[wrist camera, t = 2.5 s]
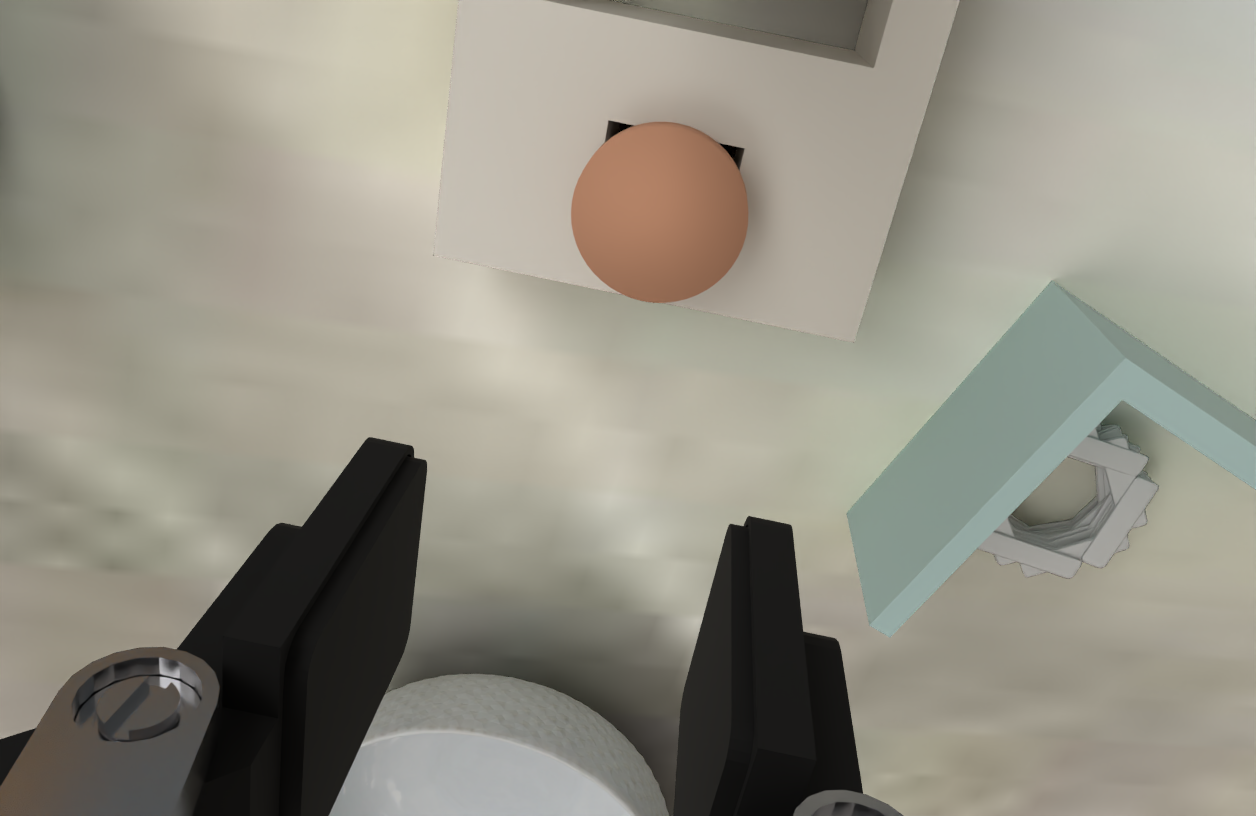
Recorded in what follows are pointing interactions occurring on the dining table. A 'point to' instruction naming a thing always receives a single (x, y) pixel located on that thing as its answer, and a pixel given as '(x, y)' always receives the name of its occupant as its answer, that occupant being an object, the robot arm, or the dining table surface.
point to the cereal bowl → (494, 755)
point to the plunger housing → (705, 100)
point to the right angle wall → (1032, 457)
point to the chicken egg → (660, 212)
